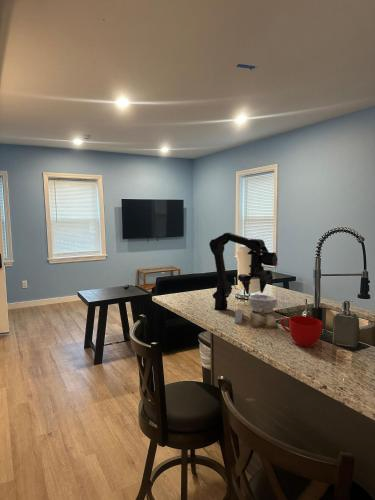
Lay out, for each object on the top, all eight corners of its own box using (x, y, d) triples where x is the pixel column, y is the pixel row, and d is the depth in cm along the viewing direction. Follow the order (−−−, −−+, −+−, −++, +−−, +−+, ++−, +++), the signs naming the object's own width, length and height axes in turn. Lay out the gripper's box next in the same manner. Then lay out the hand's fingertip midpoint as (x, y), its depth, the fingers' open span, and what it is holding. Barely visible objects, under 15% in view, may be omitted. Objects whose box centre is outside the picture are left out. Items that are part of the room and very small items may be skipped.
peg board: (251, 326, 160) (252, 318, 159) (250, 315, 179) (250, 307, 178) (277, 328, 158) (278, 320, 158) (273, 317, 177) (273, 309, 177)
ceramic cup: (286, 334, 151) (287, 312, 150) (325, 344, 141) (327, 320, 140) (273, 341, 141) (275, 318, 140) (314, 353, 131) (316, 328, 130)
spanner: (234, 323, 165) (235, 315, 165) (235, 317, 176) (236, 309, 175) (241, 324, 164) (241, 316, 164) (242, 317, 175) (242, 310, 175)
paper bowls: (266, 306, 198) (266, 293, 197) (281, 313, 183) (282, 299, 183) (243, 308, 192) (243, 294, 192) (257, 316, 178) (258, 301, 177)
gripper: (251, 266, 163) (249, 298, 164) (281, 265, 171) (279, 295, 173) (238, 263, 173) (236, 293, 174) (266, 262, 181) (264, 290, 183)
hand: (254, 293), depth 176 cm, fingers open, 9 cm apart
